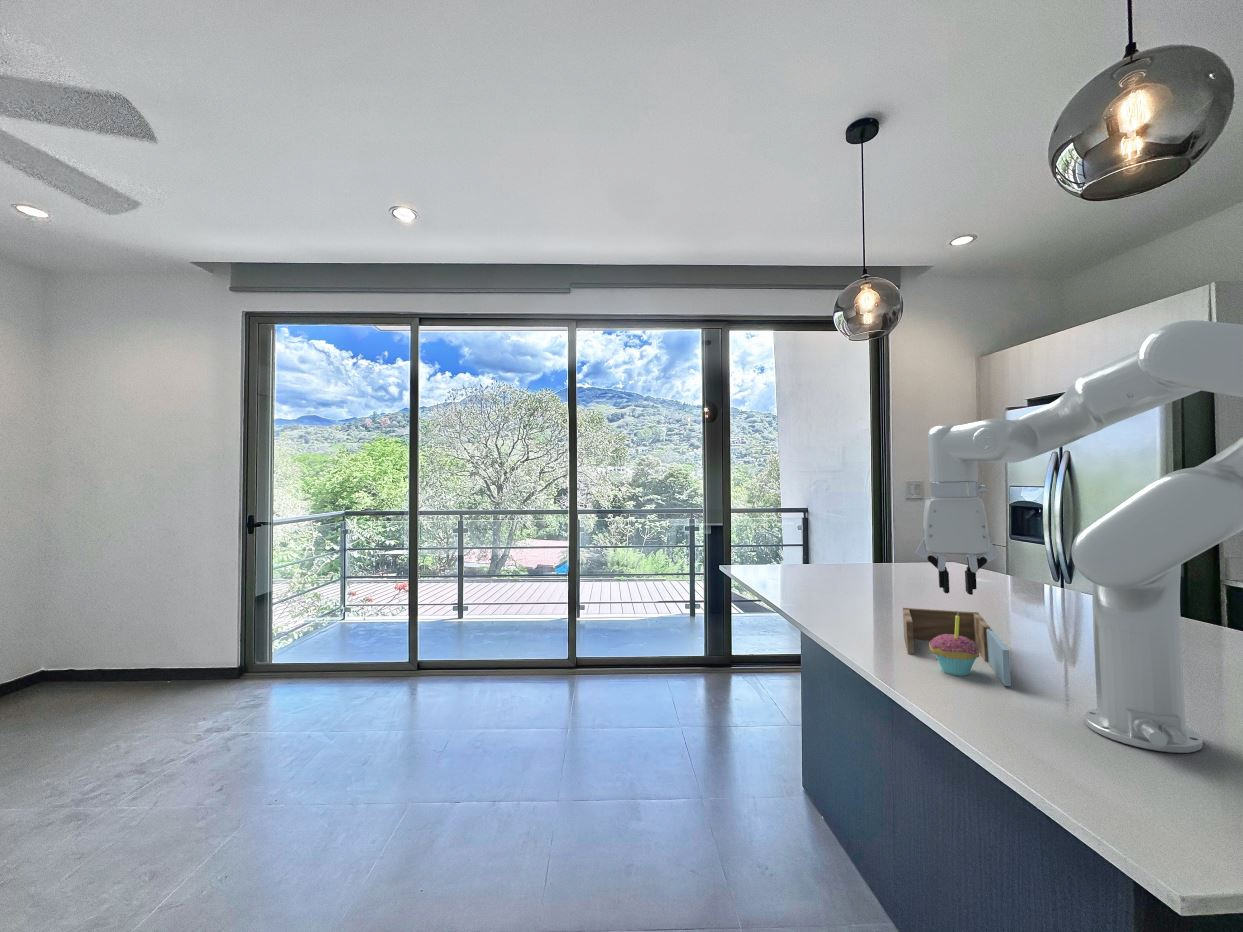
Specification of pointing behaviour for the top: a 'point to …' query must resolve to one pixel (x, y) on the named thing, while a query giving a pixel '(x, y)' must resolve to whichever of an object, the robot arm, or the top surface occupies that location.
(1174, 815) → the top surface
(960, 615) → the wooden box
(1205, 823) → the top surface
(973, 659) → the cupcake
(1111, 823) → the top surface
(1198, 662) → the top surface
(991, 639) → the blue grey rectangular panel
